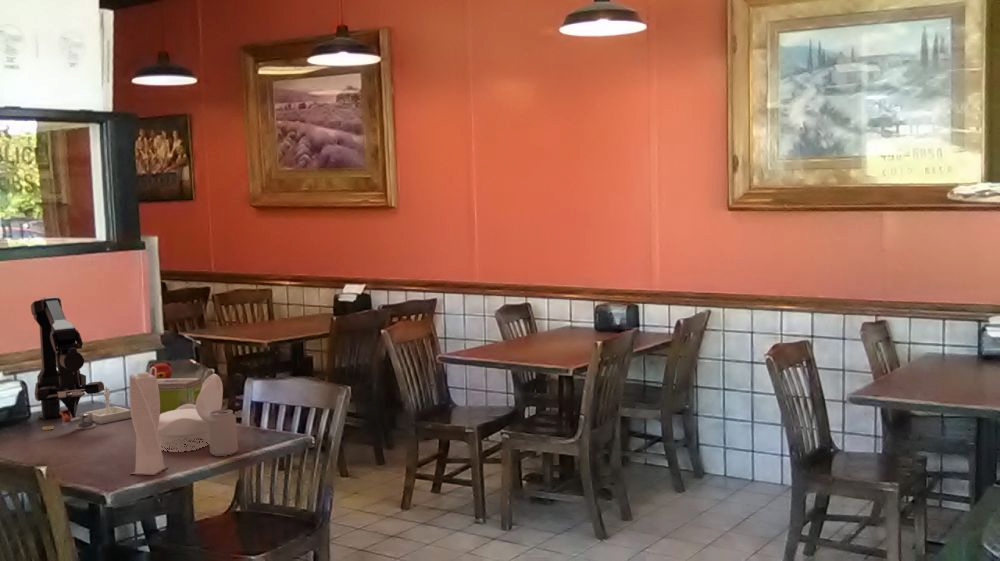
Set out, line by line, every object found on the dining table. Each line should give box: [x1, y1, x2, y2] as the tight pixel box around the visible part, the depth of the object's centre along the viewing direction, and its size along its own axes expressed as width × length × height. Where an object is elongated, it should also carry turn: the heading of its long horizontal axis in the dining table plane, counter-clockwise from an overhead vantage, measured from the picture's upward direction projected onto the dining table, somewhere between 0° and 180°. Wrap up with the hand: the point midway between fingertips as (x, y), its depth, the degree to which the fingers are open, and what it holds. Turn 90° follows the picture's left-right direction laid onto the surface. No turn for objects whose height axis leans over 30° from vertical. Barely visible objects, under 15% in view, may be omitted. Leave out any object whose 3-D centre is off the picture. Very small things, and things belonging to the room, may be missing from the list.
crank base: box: [74, 422, 98, 430], centre depth 329 cm, size 6×6×1 cm
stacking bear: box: [149, 362, 173, 379], centre depth 338 cm, size 11×10×18 cm
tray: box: [84, 405, 132, 425], centre depth 339 cm, size 11×11×2 cm
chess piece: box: [101, 386, 112, 416], centre depth 339 cm, size 5×5×10 cm
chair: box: [157, 373, 224, 453], centre depth 299 cm, size 20×20×20 cm
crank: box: [59, 408, 94, 427], centre depth 325 cm, size 12×4×7 cm, turn 161°
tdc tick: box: [41, 425, 54, 431], centre depth 327 cm, size 3×1×1 cm, turn 97°
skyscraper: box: [128, 367, 169, 476], centre depth 271 cm, size 8×8×28 cm
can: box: [208, 409, 239, 457], centre depth 288 cm, size 8×8×12 cm
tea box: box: [157, 377, 203, 414], centre depth 323 cm, size 15×10×15 cm, turn 80°
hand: (74, 417), depth 321 cm, fingers closed
